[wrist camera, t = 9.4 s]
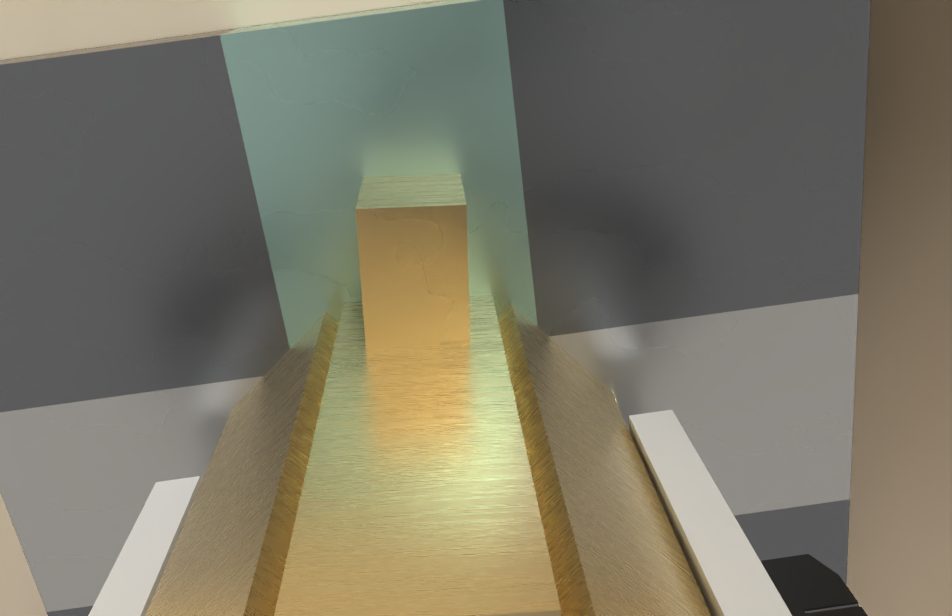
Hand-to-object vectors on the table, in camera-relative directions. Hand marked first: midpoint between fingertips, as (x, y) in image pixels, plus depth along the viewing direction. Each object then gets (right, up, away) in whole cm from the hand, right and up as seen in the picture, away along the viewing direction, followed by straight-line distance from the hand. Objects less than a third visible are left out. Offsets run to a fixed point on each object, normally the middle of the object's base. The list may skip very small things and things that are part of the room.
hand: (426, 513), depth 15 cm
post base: (0, +1, +2) cm, 3 cm away
